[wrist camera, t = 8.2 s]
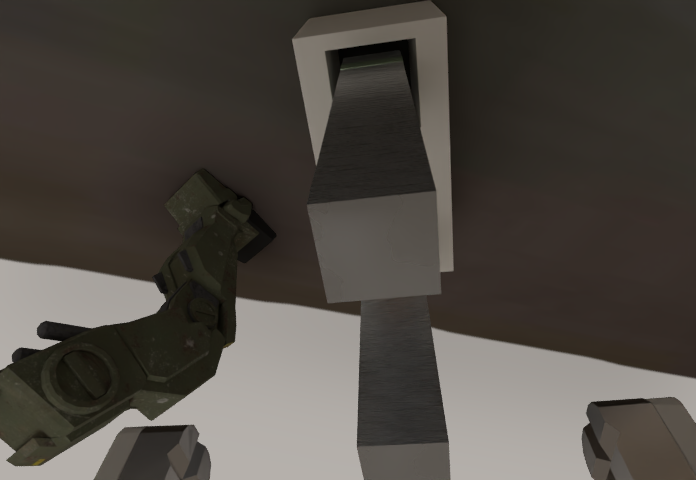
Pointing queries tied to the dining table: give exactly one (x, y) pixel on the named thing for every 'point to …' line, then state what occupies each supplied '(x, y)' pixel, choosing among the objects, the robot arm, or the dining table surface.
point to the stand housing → (425, 74)
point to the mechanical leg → (137, 336)
